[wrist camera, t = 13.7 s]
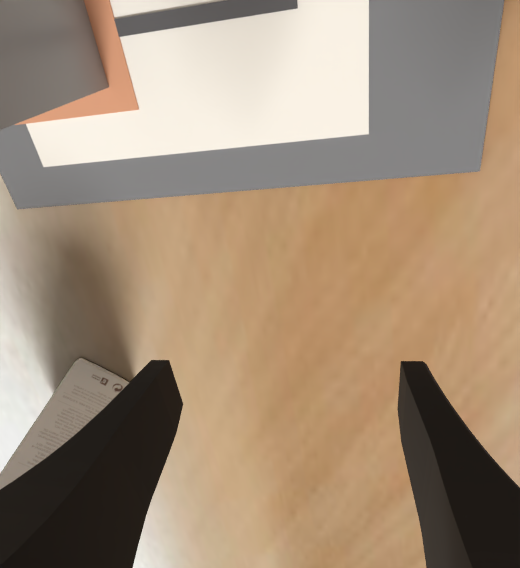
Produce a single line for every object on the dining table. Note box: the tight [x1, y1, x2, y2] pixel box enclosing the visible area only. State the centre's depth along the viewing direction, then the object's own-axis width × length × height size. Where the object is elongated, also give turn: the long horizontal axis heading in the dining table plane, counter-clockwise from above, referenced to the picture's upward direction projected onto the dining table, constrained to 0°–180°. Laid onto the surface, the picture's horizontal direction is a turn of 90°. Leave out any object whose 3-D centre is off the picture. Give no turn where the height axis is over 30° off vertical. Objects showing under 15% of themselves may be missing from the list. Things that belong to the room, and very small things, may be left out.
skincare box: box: [0, 358, 129, 489], centre depth 25 cm, size 6×4×12 cm
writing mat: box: [0, 0, 504, 209], centre depth 16 cm, size 22×14×1 cm, turn 98°
